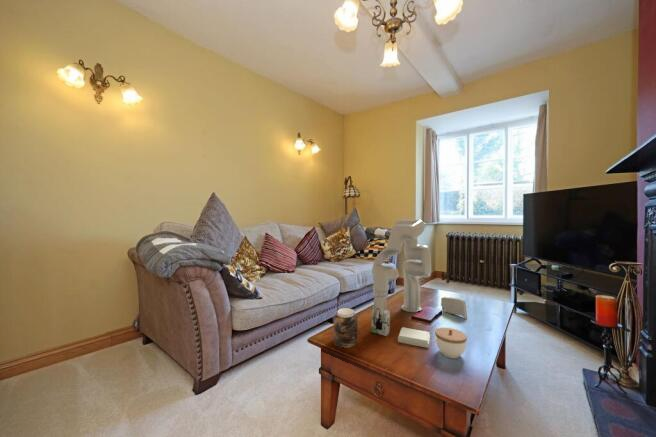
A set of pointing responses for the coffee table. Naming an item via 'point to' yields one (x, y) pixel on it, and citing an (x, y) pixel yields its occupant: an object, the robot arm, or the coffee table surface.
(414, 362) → the coffee table surface
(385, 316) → the ink box
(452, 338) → the lidded bowl
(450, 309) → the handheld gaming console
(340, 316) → the jar
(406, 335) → the stand
